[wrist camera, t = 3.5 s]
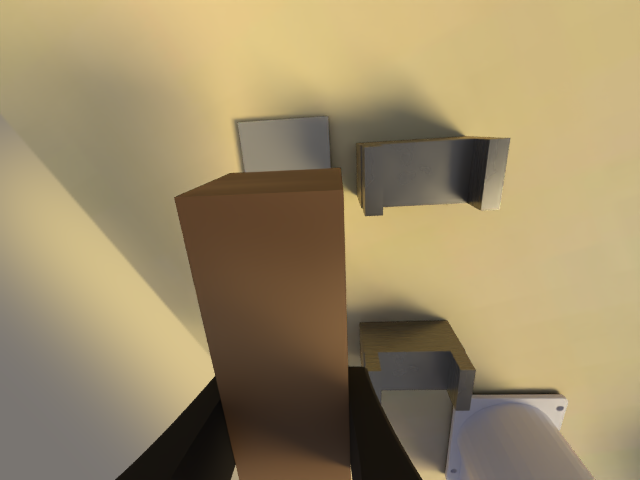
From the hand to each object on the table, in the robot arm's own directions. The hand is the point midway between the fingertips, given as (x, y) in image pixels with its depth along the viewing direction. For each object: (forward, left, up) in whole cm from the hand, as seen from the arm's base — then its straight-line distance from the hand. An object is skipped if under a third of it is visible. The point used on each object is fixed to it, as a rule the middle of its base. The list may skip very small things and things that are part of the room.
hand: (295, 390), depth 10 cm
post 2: (-6, -6, -10) cm, 13 cm away
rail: (0, 0, -2) cm, 2 cm away
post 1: (+6, -6, -10) cm, 13 cm away
